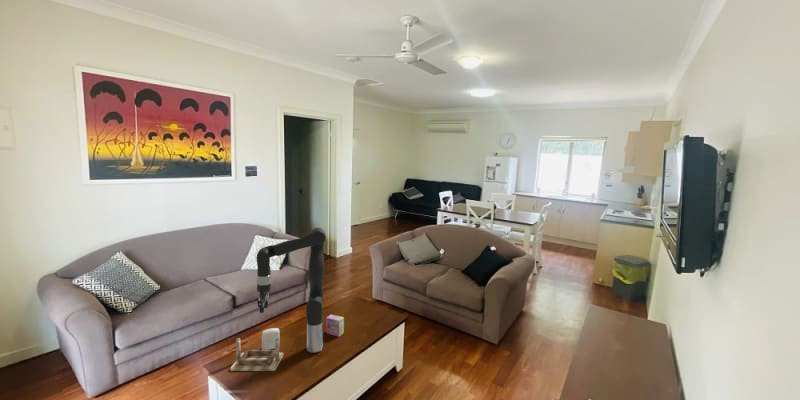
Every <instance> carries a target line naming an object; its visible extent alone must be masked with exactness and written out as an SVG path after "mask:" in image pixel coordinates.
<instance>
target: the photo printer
mask: <svg viewBox="0 0 800 400" xmlns="http://www.w3.org/2000/svg"><path fill="white" fill-rule="evenodd" d="M280 333H281V332H280V328H277V327H272V328H267V329H264V330H262V334H261V350H275V339H277V338H279V345H280V342H281V341H280V340H281V339H280V338H281V337H280V335H281V334H280Z"/></svg>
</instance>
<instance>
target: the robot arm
mask: <svg viewBox="0 0 800 400" xmlns="http://www.w3.org/2000/svg"><path fill="white" fill-rule="evenodd" d="M326 239H327V236H326V232H325V230H324V229H323V228H321V227H315V228H313V229H312V230H310V233H309V234H308V235H305V236H302V237H300V238H296V239H294V238H293V239H289V240H285V241H282V242H279V243H276V244H272V245H268V246H267V245H266V246H264V247H261V248H260V249H259V250H258V252H257V254H256V266H257V275H256V276H257V277H256V291H257V292H258V293H259V295H258V297H257V299H256V300H257V302H256V303H257V307H258V308H259V314H264V313H265V309H268V307H269V300H270V299H271V289H272V275H271V265H270V260H271V258H273V257H276V256H277V257H280V256H284V255H286V254H289V253H292V252H294V251H298V250H301V249H305V248H309V247H310V255H309V259H308V260H309V262H308V283H309V296H308V300H307V303H306V306H305V307H306V308H305V309H306V310H305V313H306V316H305V319H306V351H307V352H309V353H313V354H314V353H319V352H322V349H323V346H324V331H323V321H324V320H323V305H324V294H323V283H324V279H325V277H324V276H325V256H324V246H325V245H324V243H325V242H326Z"/></svg>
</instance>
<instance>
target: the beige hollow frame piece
mask: <svg viewBox="0 0 800 400" xmlns="http://www.w3.org/2000/svg"><path fill="white" fill-rule="evenodd" d="M235 346H236V347H235V353H236V356H235V359H236V360H235V361H234V363H233V364H232V365H231V367H230V371H231V372H234V371H237V372H239V371H240V372H241V371H242V372H243V371H244V372H255V371H256V372H257V371H258V372H260V371H261V372H268V371H269V372H273V371H274V372H276V370H277V369H278V366H279V365H280V362H281V360H282V359H283V357H284V352H280V344H279V338H277V339H275V349H269V350H262V349H246V350H244V351H243V352H241V351H242V350H241V349H242V347H241V338H240V337H238V338H237V337H236V339H235Z"/></svg>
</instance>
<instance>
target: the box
mask: <svg viewBox="0 0 800 400" xmlns="http://www.w3.org/2000/svg"><path fill="white" fill-rule="evenodd" d="M325 324H326V332H325V333H326V334H328V335H332V336H334V337H335V336H336V337H338V338H340V337H341V336H342V335H343V334H344V332H345V330H344V329H345V317H344V316H340V315H335V314H330V315H328V316H327V317H326V323H325Z"/></svg>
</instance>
